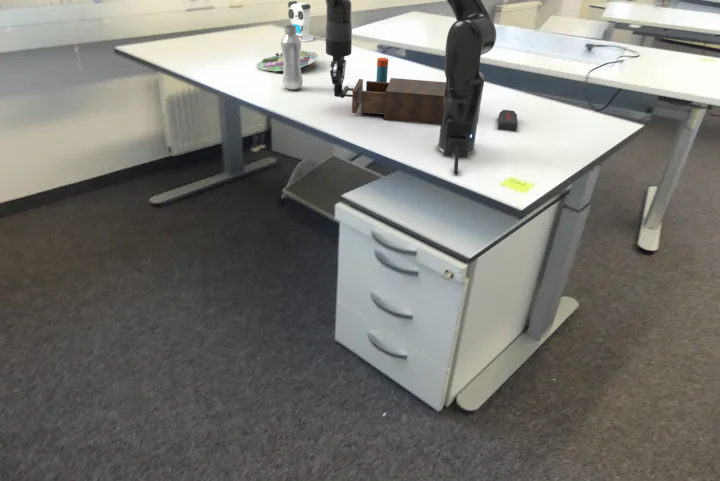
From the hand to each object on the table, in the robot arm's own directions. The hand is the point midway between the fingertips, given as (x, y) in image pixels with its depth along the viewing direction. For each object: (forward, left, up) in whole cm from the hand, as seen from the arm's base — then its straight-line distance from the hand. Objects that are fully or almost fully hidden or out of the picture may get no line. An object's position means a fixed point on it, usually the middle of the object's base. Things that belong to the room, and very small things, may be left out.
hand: (338, 96), depth 166 cm
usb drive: (-1, -51, -4) cm, 52 cm away
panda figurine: (+87, +34, -4) cm, 94 cm away
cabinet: (0, -24, -4) cm, 25 cm away
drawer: (0, -12, -3) cm, 12 cm away
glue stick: (+15, -11, -4) cm, 20 cm away
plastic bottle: (+15, +19, -4) cm, 24 cm away
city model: (+42, +28, -4) cm, 50 cm away
